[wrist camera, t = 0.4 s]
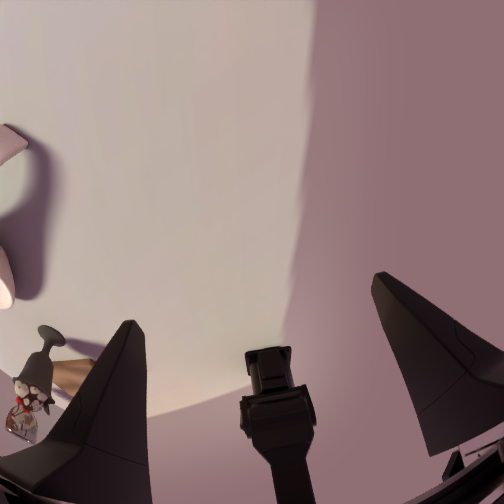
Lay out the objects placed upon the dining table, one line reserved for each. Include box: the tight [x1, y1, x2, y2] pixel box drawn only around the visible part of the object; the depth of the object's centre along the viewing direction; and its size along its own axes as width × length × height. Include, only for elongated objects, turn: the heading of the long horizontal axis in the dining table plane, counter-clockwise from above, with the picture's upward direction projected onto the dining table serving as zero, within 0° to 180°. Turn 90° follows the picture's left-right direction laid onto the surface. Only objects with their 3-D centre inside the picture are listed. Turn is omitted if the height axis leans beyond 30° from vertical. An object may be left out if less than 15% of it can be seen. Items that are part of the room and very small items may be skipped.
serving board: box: [52, 359, 95, 397], centre depth 39 cm, size 16×16×1 cm
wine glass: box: [4, 373, 38, 445], centre depth 33 cm, size 8×8×15 cm
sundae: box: [11, 326, 65, 417], centre depth 24 cm, size 7×7×15 cm
